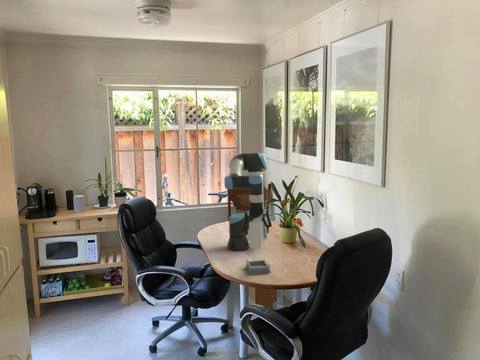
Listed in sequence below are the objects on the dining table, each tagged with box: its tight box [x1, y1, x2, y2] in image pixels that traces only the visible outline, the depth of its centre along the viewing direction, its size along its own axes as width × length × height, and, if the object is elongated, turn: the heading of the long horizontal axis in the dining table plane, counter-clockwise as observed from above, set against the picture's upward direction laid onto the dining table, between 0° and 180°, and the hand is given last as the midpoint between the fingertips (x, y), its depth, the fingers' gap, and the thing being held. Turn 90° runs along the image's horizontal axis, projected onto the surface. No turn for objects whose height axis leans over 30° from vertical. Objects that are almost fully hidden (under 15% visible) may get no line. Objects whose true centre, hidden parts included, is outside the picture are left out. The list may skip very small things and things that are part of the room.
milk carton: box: [248, 215, 266, 250], centre depth 219 cm, size 7×7×19 cm
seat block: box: [245, 258, 272, 276], centre depth 223 cm, size 12×12×5 cm
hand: (257, 239), depth 220 cm, fingers closed on milk carton, 10 cm apart
